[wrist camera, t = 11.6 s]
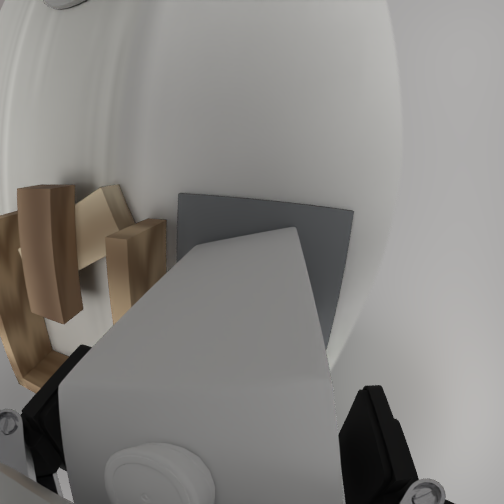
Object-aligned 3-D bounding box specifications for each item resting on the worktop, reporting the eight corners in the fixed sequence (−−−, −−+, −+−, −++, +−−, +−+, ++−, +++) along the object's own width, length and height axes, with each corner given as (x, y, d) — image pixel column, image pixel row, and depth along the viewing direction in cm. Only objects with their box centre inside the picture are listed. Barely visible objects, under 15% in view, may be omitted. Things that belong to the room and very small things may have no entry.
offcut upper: (50, 299, 21) (31, 312, 18) (41, 184, 18) (17, 188, 15) (83, 309, 21) (64, 324, 18) (75, 184, 18) (50, 188, 15)
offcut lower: (38, 241, 23) (18, 249, 20) (121, 184, 21) (100, 187, 18) (56, 282, 24) (37, 293, 21) (144, 235, 22) (125, 245, 19)
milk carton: (310, 318, 21) (339, 595, 3) (219, 331, 22) (130, 574, 4) (295, 225, 19) (359, 578, 1) (195, 244, 20) (-21, 473, 2)
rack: (19, 210, 22) (-24, 222, 16) (166, 219, 21) (127, 239, 15) (47, 356, 27) (19, 383, 21) (174, 397, 25) (154, 441, 20)
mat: (180, 193, 20) (178, 193, 20) (352, 210, 19) (353, 211, 19) (179, 339, 23) (178, 341, 23) (323, 356, 23) (323, 359, 22)
